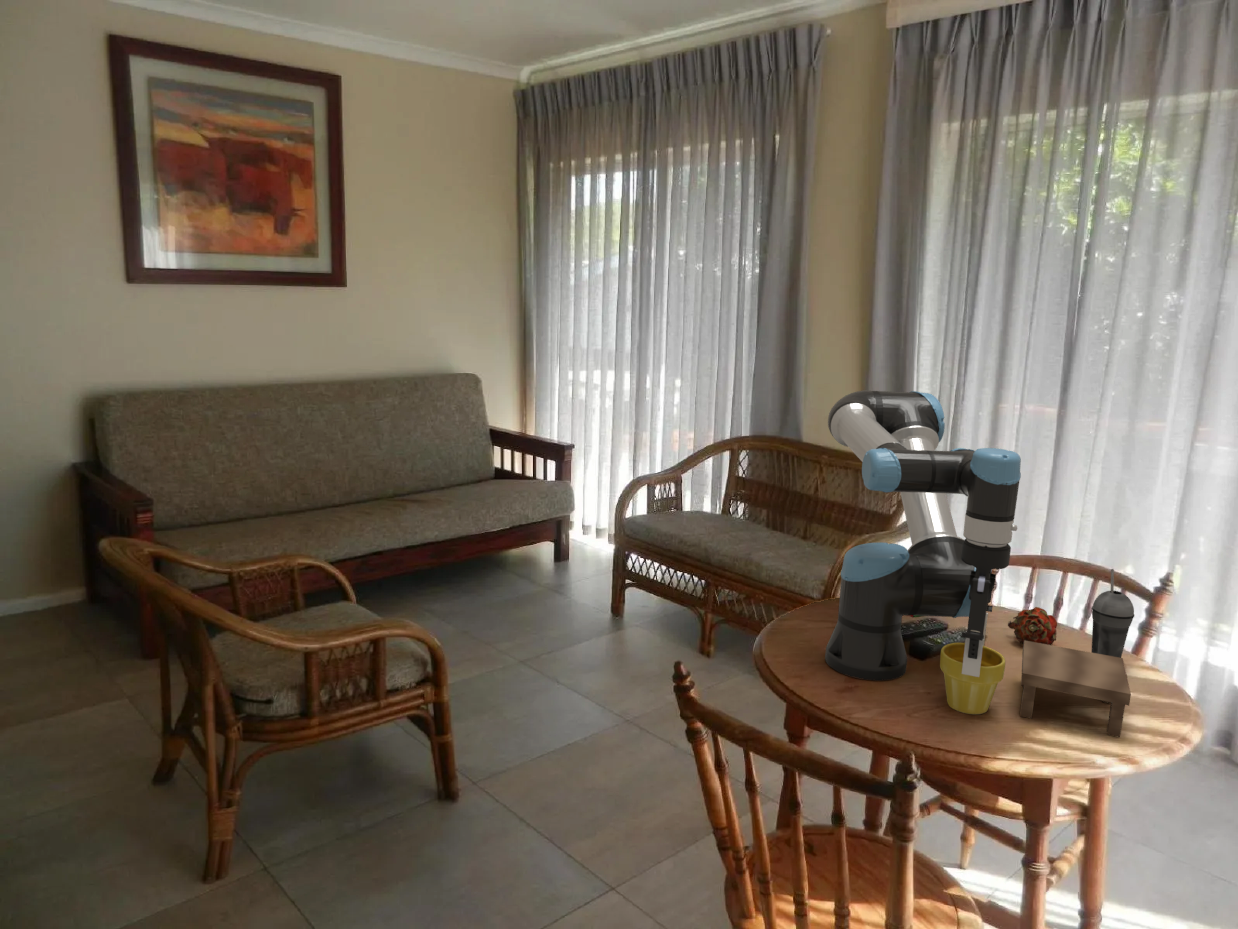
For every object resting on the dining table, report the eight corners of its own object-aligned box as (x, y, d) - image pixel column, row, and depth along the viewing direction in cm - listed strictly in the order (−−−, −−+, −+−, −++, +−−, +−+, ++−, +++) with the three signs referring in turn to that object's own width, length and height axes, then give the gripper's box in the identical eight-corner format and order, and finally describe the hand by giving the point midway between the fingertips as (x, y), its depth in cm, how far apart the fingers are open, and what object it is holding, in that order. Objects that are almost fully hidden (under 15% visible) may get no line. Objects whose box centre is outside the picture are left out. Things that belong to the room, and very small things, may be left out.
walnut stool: (1016, 716, 149) (1022, 673, 148) (1018, 680, 163) (1024, 640, 162) (1123, 739, 142) (1131, 694, 141) (1116, 699, 157) (1122, 658, 155)
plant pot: (942, 717, 148) (948, 663, 146) (929, 690, 158) (935, 639, 156) (1006, 723, 147) (1013, 669, 145) (989, 695, 157) (996, 644, 155)
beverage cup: (1131, 677, 166) (1147, 577, 162) (1090, 673, 168) (1104, 573, 164) (1117, 662, 173) (1133, 565, 169) (1078, 657, 175) (1092, 562, 171)
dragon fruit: (1036, 664, 175) (1019, 648, 187) (1075, 642, 173) (1056, 629, 185) (1012, 627, 175) (997, 614, 187) (1051, 606, 174) (1033, 594, 186)
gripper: (1009, 564, 134) (993, 693, 138) (1013, 527, 156) (999, 639, 160) (957, 556, 137) (943, 682, 141) (968, 522, 159) (956, 632, 163)
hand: (973, 660), depth 150 cm, fingers open, 13 cm apart
